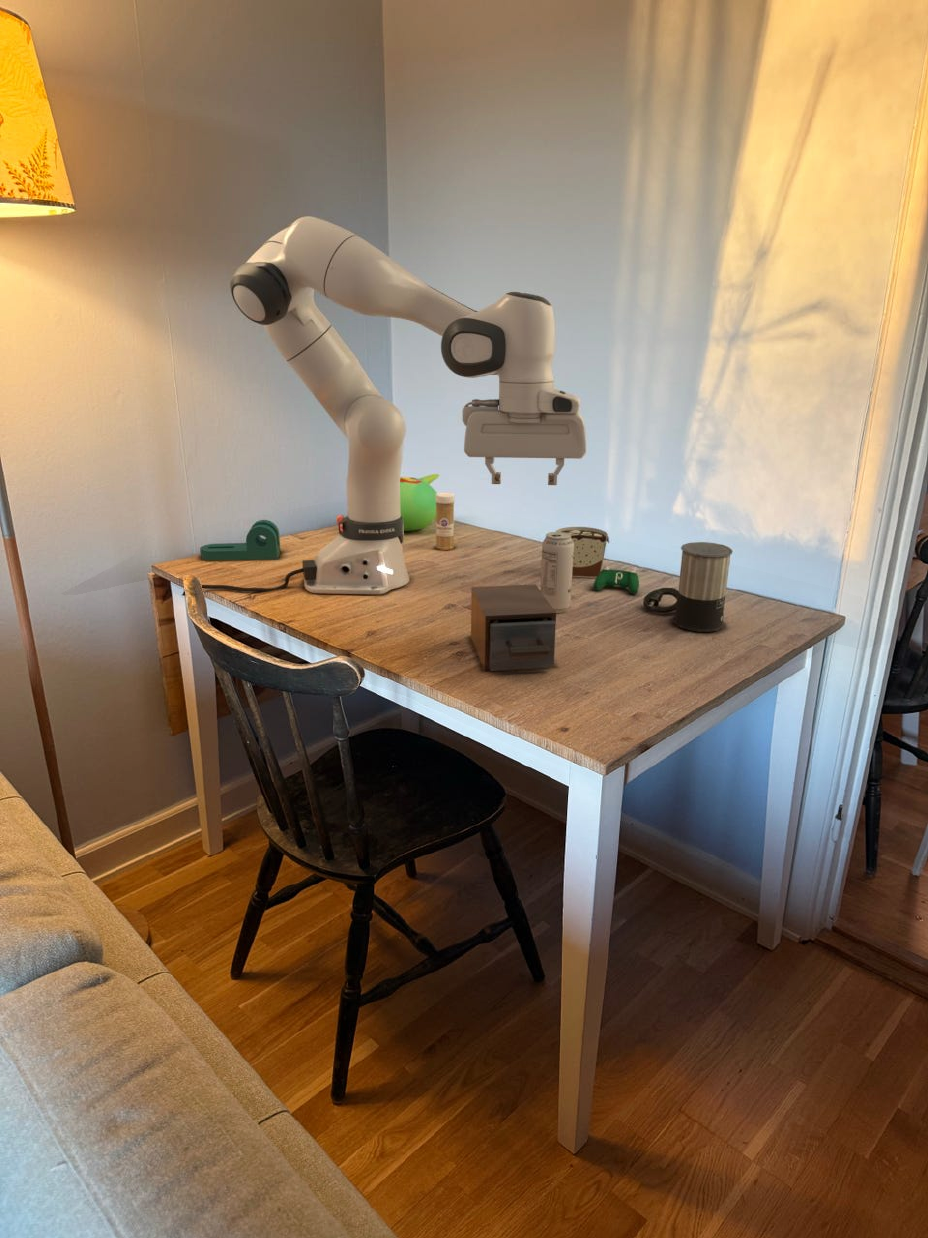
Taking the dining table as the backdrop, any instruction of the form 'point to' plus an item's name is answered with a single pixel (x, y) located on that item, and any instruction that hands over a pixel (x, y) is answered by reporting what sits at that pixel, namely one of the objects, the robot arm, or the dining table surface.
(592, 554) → the food container
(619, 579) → the gaming controller
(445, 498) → the sprinkles bottle
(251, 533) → the bracket
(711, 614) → the milk frother
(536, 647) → the drawer
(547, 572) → the energy drink can
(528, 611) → the cabinet
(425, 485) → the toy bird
